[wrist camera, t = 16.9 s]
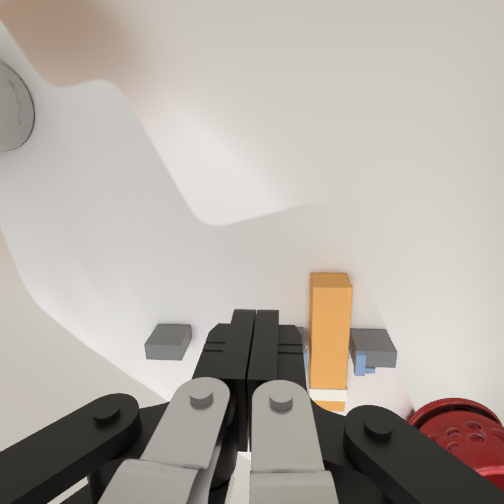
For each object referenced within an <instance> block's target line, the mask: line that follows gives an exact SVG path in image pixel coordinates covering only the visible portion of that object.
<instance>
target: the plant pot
mask: <svg viewBox="0 0 504 504" xmlns="http://www.w3.org/2000/svg"><path fill="white" fill-rule="evenodd" d="M408 423H410V424H411V425H412V426H414V427H415V428H417V429H418V430H419V431H421V432H422V433H424V434H425V435H426V436H428V437H429V438H430V439H432V440H433V441H435V442H436V443H437V444H439V445H440V446H442V447H443V448H444V449H446V450H447V451H449V452H450V453H451V454H453V455H454V456H455V457H457V458H458V459H460V460H461V461H462V462H464V463H465V464H467V465H468V466H469V467H471V468H472V469H474V470H475V471H476V472H478V473H479V474H481V475H482V476H483V477H485V478H486V479H487V480H489V481H490V482H492V483H493V484H494V485H496V486H497V487H499V488H500V489H501V490H503V491H504V427H503V426H502V424H501V422H500V420H499V419H498V417H497V416H496V415H495V414H494V413H493V412H492V411H491V410H490V409H488V408H487V407H485V406H483V405H482V404H480V403H477V402H475V401H471V400H467V399H462V398H446V399H440V400H437V401H433V402H430V403H429V404H426V405H425V406H423V407H421V408H420V409H419V410H418V411H416V412H415V413H414V414H413V416H412V417H411V418H410V420H409V422H408Z"/></svg>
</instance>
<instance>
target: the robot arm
mask: <svg viewBox="0 0 504 504" xmlns="http://www.w3.org/2000/svg"><path fill="white" fill-rule="evenodd" d="M33 121H34V111H33V104H32V101H31V97H30V94H29V92H28V90H27V88H26V86H25V85H24V83H23V82H22V80H21V79H20V78H19V76H18V75H17V74H16V73H15V72H14V71H13V70H12V69H10V68H9V67H7V66H6V65H5V64H3V63H1V62H0V152H1V151H9V150H13V149H16V148H17V147H19V146H21V145H22V144H23V143H24V142H25V141H26V140H27V138H28V137H29V135H30V133H31V130H32V127H33ZM248 440H249V446H250V452H251V471H250V501H249V502H250V503H249V504H504V491H503V490H501V489H500V488H499V487H497V486H496V485H494V484H493V483H492V482H490V481H489V480H487V479H486V478H485V477H483V476H482V475H481V474H479V473H478V472H476V471H475V470H474V469H472V468H471V467H469V466H468V465H467V464H465V463H464V462H462V461H461V460H460V459H458V458H457V457H455V456H454V455H453V454H451V453H450V452H449V451H447V450H446V449H444V448H443V447H442V446H440V445H439V444H437V443H436V442H435V441H433V440H432V439H430V438H429V437H428V436H426V435H425V434H424V433H422V432H421V431H419V430H418V429H417V428H415V427H414V426H412V425H411V424H410V423H408V422H407V421H405V420H404V419H403V418H401V417H400V416H398V415H397V414H395V413H394V412H392V411H390V410H388V409H386V408H383V407H379V406H374V405H363V406H358V407H356V408H354V409H352V410H351V411H349V412H348V414H347V415H346V416H343V415H339V414H336V413H333V412H330V411H328V410H326V409H323V408H322V407H320V406H319V405H317V404H316V403H315V402H314V401H313V400H312V399H311V397H310V396H309V394H308V392H307V387H306V376H305V365H304V355H303V344H302V334H301V333H300V331H299V330H298V329H297V328H296V326H295V325H279V310H257V314H256V310H245V309H235V310H234V313H233V316H232V320H231V324H221V323H219V324H217V325H216V326H215V327H214V328H213V329H212V330H211V331H210V332H209V334H208V337H207V339H206V343H205V345H204V348H203V352H202V353H201V356H200V358H199V361H198V364H197V366H196V369H195V372H194V374H193V377H192V380H190V381H188V382H186V383H184V384H183V385H181V386H180V387H179V388H178V389H177V390H176V392H175V394H174V395H173V397H172V399H171V401H170V402H167V403H164V404H160V405H156V406H152V407H146V408H141V409H139V405H138V402H137V400H136V399H135V398H134V397H132V396H130V395H128V394H122V393H117V394H109V395H106V396H103V397H100V398H98V399H96V400H94V401H92V402H90V403H88V404H87V405H85V406H83V407H81V408H79V409H78V410H76V411H74V412H72V413H70V414H69V415H67V416H65V417H63V418H61V419H59V420H58V421H56V422H54V423H52V424H50V425H48V426H47V427H45V428H43V429H41V430H39V431H38V432H36V433H34V434H32V435H30V436H28V437H27V438H25V439H23V440H21V441H19V442H18V443H16V444H14V445H12V446H10V447H9V448H7V449H5V450H3V451H1V452H0V504H47V503H48V502H50V501H51V500H53V499H54V498H55V497H57V496H58V495H60V494H61V493H63V492H64V491H66V490H67V489H69V488H70V487H71V486H73V485H74V484H76V483H77V482H79V481H80V480H81V479H83V478H85V477H86V476H87V480H88V484H87V485H85V486H84V487H83V488H81V489H80V490H79V491H77V492H76V493H74V494H73V495H71V496H70V497H69V498H67V499H66V500H64V501H63V502H62V503H60V504H229V501H230V497H231V493H232V488H233V483H234V470H235V466H236V459H237V453H238V451H241V452H247V449H248Z"/></svg>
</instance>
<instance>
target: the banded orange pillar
mask: <svg viewBox="0 0 504 504" xmlns="http://www.w3.org/2000/svg"><path fill="white" fill-rule="evenodd" d="M352 289H353V287H352V285H351V283H350V281H349V279H348V276H347V274H346V273H311V277H310V319H309V360H308V366H307V382H308V394H309V396H310V397H311V399H312V400H313V401H314V402H315V403H316V404H317V405H319V406H320V407H322V408H323V409H326V410H328V411H344V408H345V402H347V392H348V390H347V386H346V378H347V364H348V349H349V334H350V319H351V304H352Z"/></svg>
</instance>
